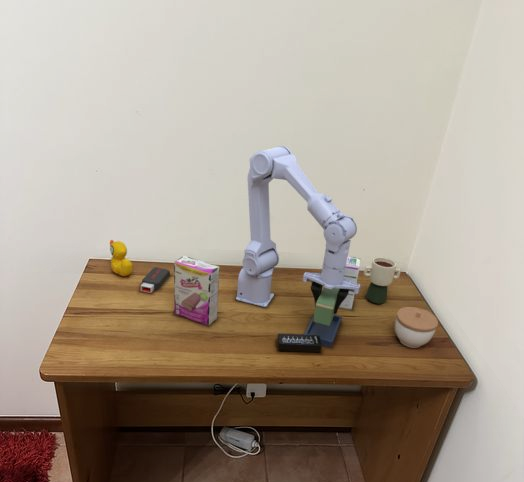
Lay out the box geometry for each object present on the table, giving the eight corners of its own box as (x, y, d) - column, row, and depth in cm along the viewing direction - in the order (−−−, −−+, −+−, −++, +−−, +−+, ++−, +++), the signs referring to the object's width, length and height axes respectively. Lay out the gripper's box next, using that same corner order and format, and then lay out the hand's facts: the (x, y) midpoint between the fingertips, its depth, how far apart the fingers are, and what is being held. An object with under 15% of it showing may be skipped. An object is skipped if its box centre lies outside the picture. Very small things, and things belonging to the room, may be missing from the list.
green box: (321, 303, 135) (325, 284, 132) (337, 307, 134) (341, 288, 131) (313, 321, 127) (316, 302, 124) (329, 326, 126) (333, 306, 123)
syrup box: (351, 310, 144) (361, 266, 137) (331, 306, 145) (340, 262, 137) (352, 300, 149) (361, 257, 142) (333, 297, 150) (341, 254, 142)
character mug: (390, 295, 154) (399, 258, 147) (395, 307, 148) (405, 269, 141) (356, 292, 153) (364, 255, 147) (359, 304, 147) (368, 266, 141)
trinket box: (424, 358, 127) (434, 328, 122) (385, 342, 131) (392, 313, 126) (435, 339, 135) (444, 310, 130) (397, 325, 139) (405, 297, 134)
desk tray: (303, 340, 129) (304, 334, 128) (315, 315, 140) (315, 310, 139) (331, 347, 127) (332, 342, 126) (341, 322, 138) (342, 316, 137)
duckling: (104, 267, 154) (102, 238, 148) (121, 263, 157) (118, 234, 151) (121, 282, 146) (118, 252, 141) (137, 278, 149) (135, 248, 144)
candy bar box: (173, 315, 134) (172, 261, 125) (183, 306, 138) (183, 254, 129) (208, 327, 130) (210, 273, 122) (218, 318, 134) (220, 265, 126)
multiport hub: (276, 340, 128) (277, 333, 126) (318, 342, 128) (319, 335, 127) (278, 350, 124) (279, 343, 123) (320, 352, 125) (322, 345, 123)
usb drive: (170, 275, 152) (169, 268, 151) (154, 294, 142) (154, 286, 141) (154, 272, 153) (154, 265, 152) (137, 291, 143) (137, 282, 142)
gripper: (302, 264, 121) (296, 310, 128) (360, 277, 118) (350, 324, 125) (309, 253, 127) (302, 298, 134) (364, 265, 124) (355, 310, 131)
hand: (326, 309), depth 130 cm, fingers closed on green box, 4 cm apart
